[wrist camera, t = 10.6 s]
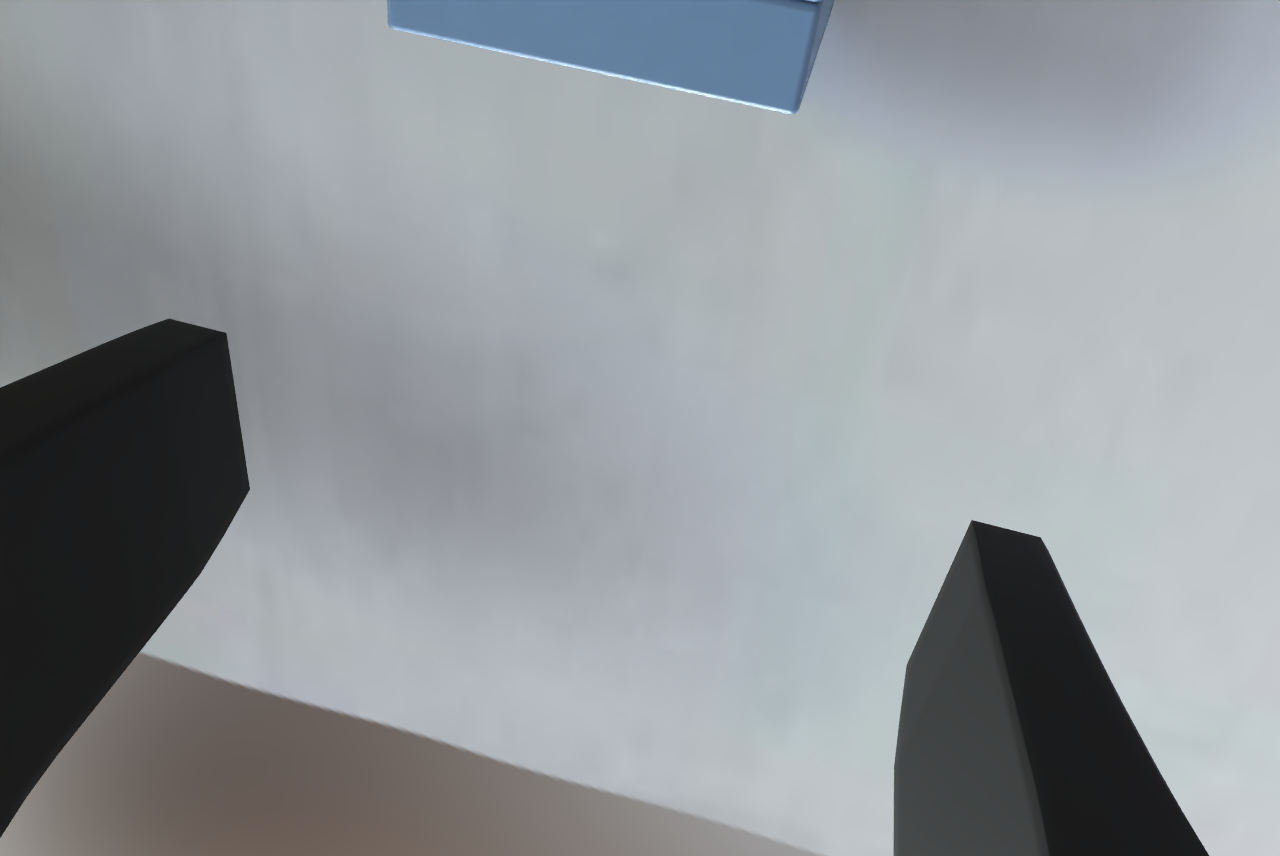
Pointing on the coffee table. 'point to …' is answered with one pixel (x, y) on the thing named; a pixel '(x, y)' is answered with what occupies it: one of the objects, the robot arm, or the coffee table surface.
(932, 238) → the coffee table surface
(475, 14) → the blue block
